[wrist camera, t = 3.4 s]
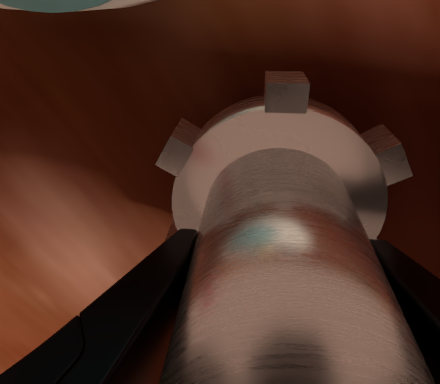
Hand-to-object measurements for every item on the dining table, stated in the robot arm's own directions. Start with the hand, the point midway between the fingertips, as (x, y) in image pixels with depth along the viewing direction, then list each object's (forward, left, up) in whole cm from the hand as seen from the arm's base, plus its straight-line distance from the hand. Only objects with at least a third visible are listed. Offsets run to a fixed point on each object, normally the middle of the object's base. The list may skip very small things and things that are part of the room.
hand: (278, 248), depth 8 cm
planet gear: (0, 0, -3) cm, 3 cm away
